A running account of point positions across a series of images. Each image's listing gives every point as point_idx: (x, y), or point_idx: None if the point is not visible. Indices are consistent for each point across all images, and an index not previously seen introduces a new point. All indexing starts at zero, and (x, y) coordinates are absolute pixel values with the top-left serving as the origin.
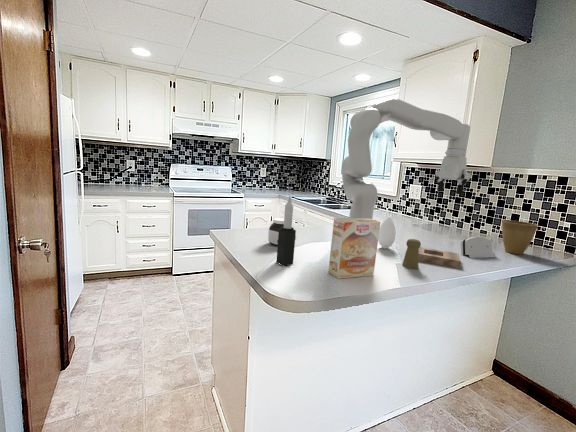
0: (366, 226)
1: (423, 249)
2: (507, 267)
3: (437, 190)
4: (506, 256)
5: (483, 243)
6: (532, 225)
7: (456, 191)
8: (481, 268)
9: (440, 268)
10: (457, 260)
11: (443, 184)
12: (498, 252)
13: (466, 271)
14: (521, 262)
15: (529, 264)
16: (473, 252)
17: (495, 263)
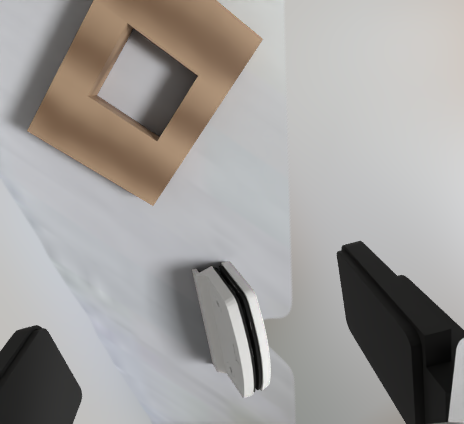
0: None
1: (192, 65)
2: (96, 321)
3: (360, 243)
4: (222, 400)
5: (233, 363)
6: None
7: (29, 347)
8: (62, 220)
9: (17, 33)
10: (34, 123)
11: (399, 397)
12: (266, 407)
13: (6, 131)
14: (161, 400)
15: (143, 408)
16: (207, 297)
17: (135, 312)
